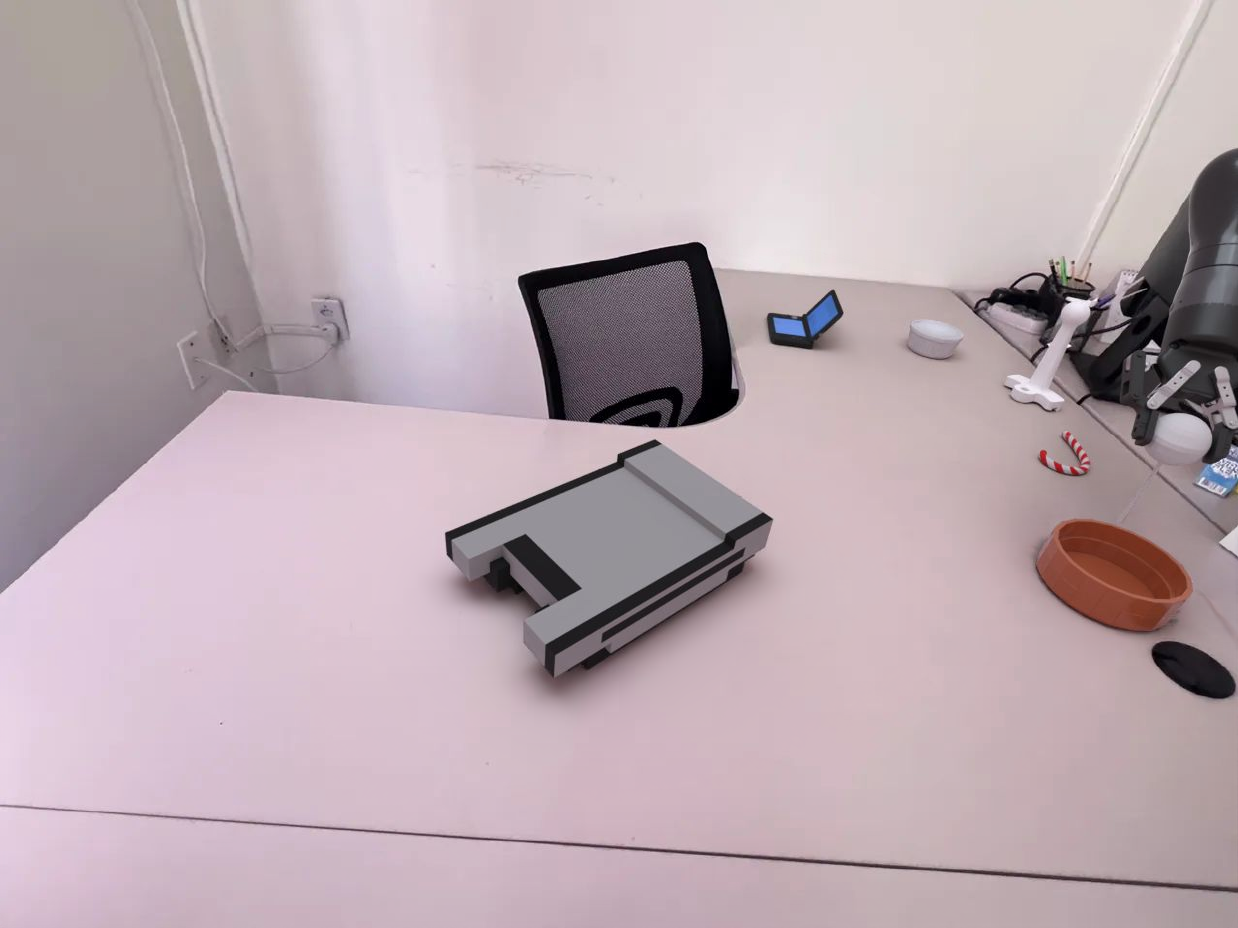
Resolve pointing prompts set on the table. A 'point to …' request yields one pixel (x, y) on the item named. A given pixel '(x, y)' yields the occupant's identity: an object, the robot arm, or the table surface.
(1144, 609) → the bowl
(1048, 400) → the joystick
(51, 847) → the table surface
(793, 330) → the game console
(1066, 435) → the candy cane
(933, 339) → the ramekin
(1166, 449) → the lollipop
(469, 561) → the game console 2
